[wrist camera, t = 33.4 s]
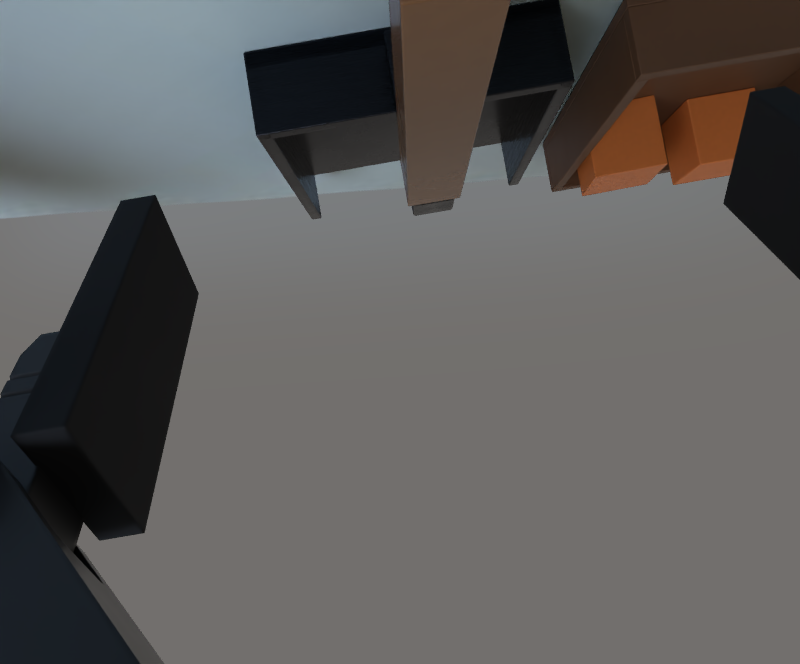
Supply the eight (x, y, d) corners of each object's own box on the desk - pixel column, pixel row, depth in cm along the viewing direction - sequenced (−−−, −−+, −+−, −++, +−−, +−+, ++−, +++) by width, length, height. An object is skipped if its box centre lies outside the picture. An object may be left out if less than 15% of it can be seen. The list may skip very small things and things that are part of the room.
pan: (20, -363, 11) (78, 62, 11) (747, -497, 11) (844, -74, 11) (303, 164, 40) (323, 287, 39) (508, 129, 40) (530, 252, 39)
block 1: (595, 177, 37) (582, 196, 41) (668, 163, 36) (647, 184, 40) (582, 109, 37) (570, 134, 41) (654, 94, 37) (635, 121, 41)
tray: (625, -5, 26) (641, 75, 26) (960, -63, 26) (979, 16, 26) (542, 143, 44) (551, 192, 43) (744, 108, 43) (754, 157, 43)
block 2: (700, 165, 38) (672, 185, 42) (769, 153, 38) (734, 174, 42) (686, 98, 38) (660, 125, 42) (755, 86, 38) (722, 114, 42)
